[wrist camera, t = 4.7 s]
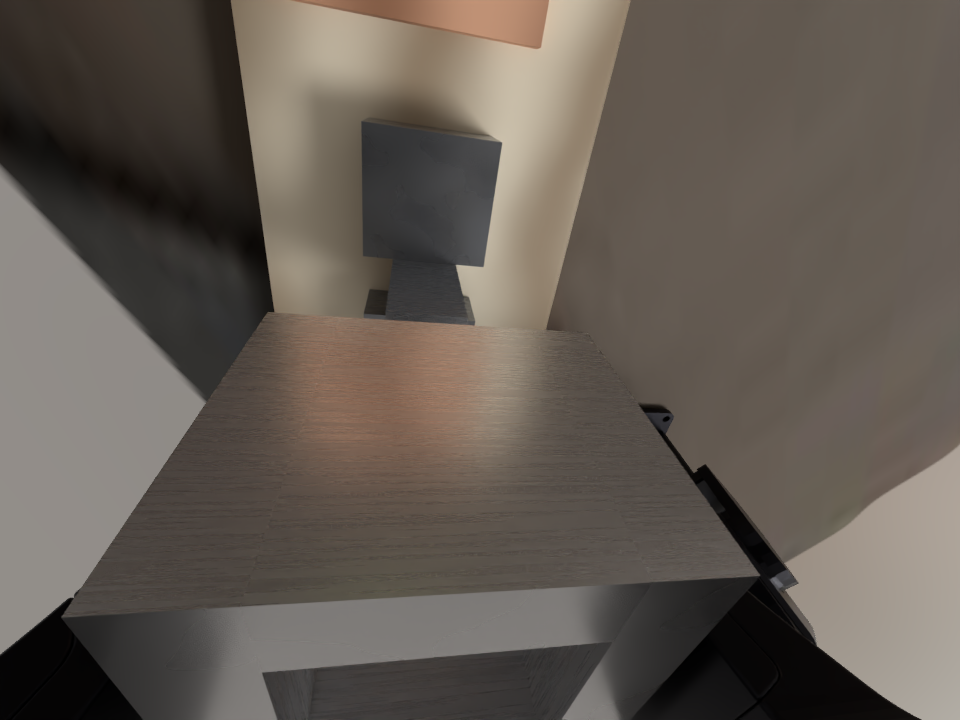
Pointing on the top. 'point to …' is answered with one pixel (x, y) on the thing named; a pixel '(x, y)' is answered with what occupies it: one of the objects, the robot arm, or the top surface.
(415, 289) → the bench vise
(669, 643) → the steel collar
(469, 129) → the board
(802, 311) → the top surface
